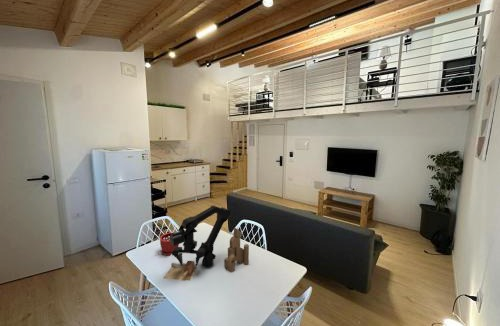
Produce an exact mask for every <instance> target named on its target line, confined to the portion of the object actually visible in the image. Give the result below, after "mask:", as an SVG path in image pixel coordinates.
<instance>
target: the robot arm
mask: <svg viewBox="0 0 500 326" xmlns="http://www.w3.org/2000/svg"><path fill="white" fill-rule="evenodd" d="M215 214H216V220H215V222H214V224H213V227H212V229H211V231H210V233H209V235H208V237H207V239H206V241H204V242H201V244H200V245H199V248H198V249H196V248H197V246H198V241H197V240H195V238H194V236H195V235H194V234H195V233H197V232H198V230H197V229H196V228H197V227H198V225H199V224H200V223H201V222H203V221H205V220H206V219H208V218H211V216H213V215H215ZM231 214H232V213H231V210H230V209H228V208H226V207H223V206H222V207H219V206H216V205H211V206H209V207H208V208H206V209H205V210H203V211H201V212H200V213H198V214H196V215H194V216H188V217H186V218H184V219H183V220H182V222H181V224H180V226H179V228H178V231H175V232H170V233H171V236H169V237H170V239H169V240H170V243H171V245H172V246H174V245H177V244H179V245H180V244H182V246H183V247H182V246H178V247H175V249H174V250H173V251H172V254H171V256H174V258H176V259H177V261H178V263H180V264H181V265H182V264H183V263H184V262H183V261H184V260H183V254H191V255H192V254H193V255H194V254H195V255H196V257H195V264H196V266H197V267H198V265H199V261H200V259H201V262H202V263H201V265H202V267H205V268H212V267H213V266H214V263H215V259H216V257H217V256H216V254H215V253H214V244H215V241H216V240H217V239H218V236H219V233H220V231H221V229H222V227H223V226H224V223H226V222H227V221H228V220H229V219H230V216H231Z"/></svg>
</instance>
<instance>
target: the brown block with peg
mask: <svg viewBox="0 0 500 326" xmlns="http://www.w3.org/2000/svg"><path fill="white" fill-rule="evenodd" d="M194 264H195V260H187V261H186V263H185V266H184V275H183V277H184V279H186V276H191V275H192V273H193V271H194V270H195V267H194Z"/></svg>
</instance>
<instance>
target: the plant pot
mask: <svg viewBox="0 0 500 326" xmlns="http://www.w3.org/2000/svg"><path fill="white" fill-rule="evenodd" d="M171 233H172V232H167V233H164V234H162V235H161V236H160V237H159V243H160V244H159V245H160V248H161V253H162V254H163V255H164V256H172V251H173V250H174V249H175V247H180V246H179V245H180V244H177V245H174V246H172V245H171V243H170V236H171Z"/></svg>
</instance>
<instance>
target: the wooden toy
mask: <svg viewBox="0 0 500 326" xmlns="http://www.w3.org/2000/svg"><path fill="white" fill-rule="evenodd" d="M242 236H244V233H243V232H241V231H240V230H239V229H238V228H236V227H233V236H231V237H230V239H229V247H228V248H227V257H225V258H224V259H223V260H224V265H223V266H224V269H225V270H226V271H228V273H229V272H230V273H232V272H235V271H236V263H237V264H238V265H242V264H244V265H246V266H248V265H249V260H250V259H249V256H250V255H249V253H250V248H249V247H250V245H249V244H248V243H244V244H243V248H242V247H241V237H242Z"/></svg>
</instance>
